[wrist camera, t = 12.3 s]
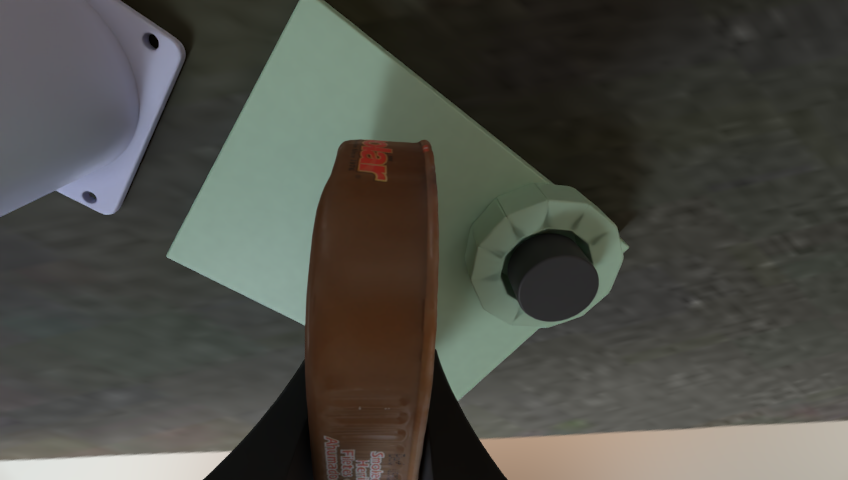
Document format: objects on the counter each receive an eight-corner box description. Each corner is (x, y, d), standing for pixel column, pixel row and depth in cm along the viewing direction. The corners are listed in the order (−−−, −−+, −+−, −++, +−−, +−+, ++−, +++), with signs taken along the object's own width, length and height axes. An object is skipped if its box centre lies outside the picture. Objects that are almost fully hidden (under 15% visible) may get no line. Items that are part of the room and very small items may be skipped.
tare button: (491, 272, 16) (500, 298, 15) (544, 218, 15) (560, 240, 14) (543, 306, 17) (557, 334, 16) (596, 257, 16) (617, 282, 14)
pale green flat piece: (178, 243, 18) (139, 281, 15) (319, -22, 13) (298, -33, 11) (455, 384, 23) (462, 431, 20) (625, 227, 18) (662, 262, 16)
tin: (398, 402, 21) (416, 612, 14) (336, 405, 20) (322, 625, 13) (423, 107, 13) (495, 233, 6) (326, 101, 13) (281, 230, 6)
